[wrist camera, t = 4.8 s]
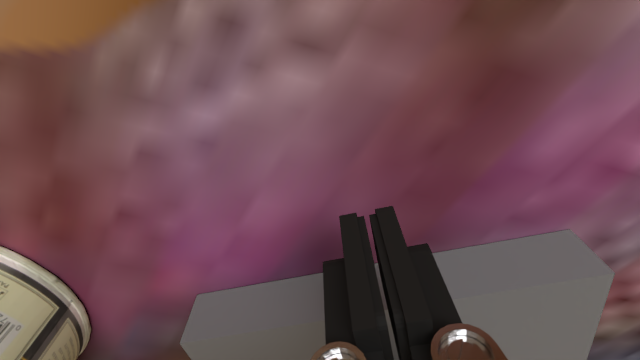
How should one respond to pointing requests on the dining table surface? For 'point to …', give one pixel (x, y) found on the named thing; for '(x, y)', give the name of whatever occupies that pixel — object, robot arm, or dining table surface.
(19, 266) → the coffee can
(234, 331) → the hole board
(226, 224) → the dining table surface
